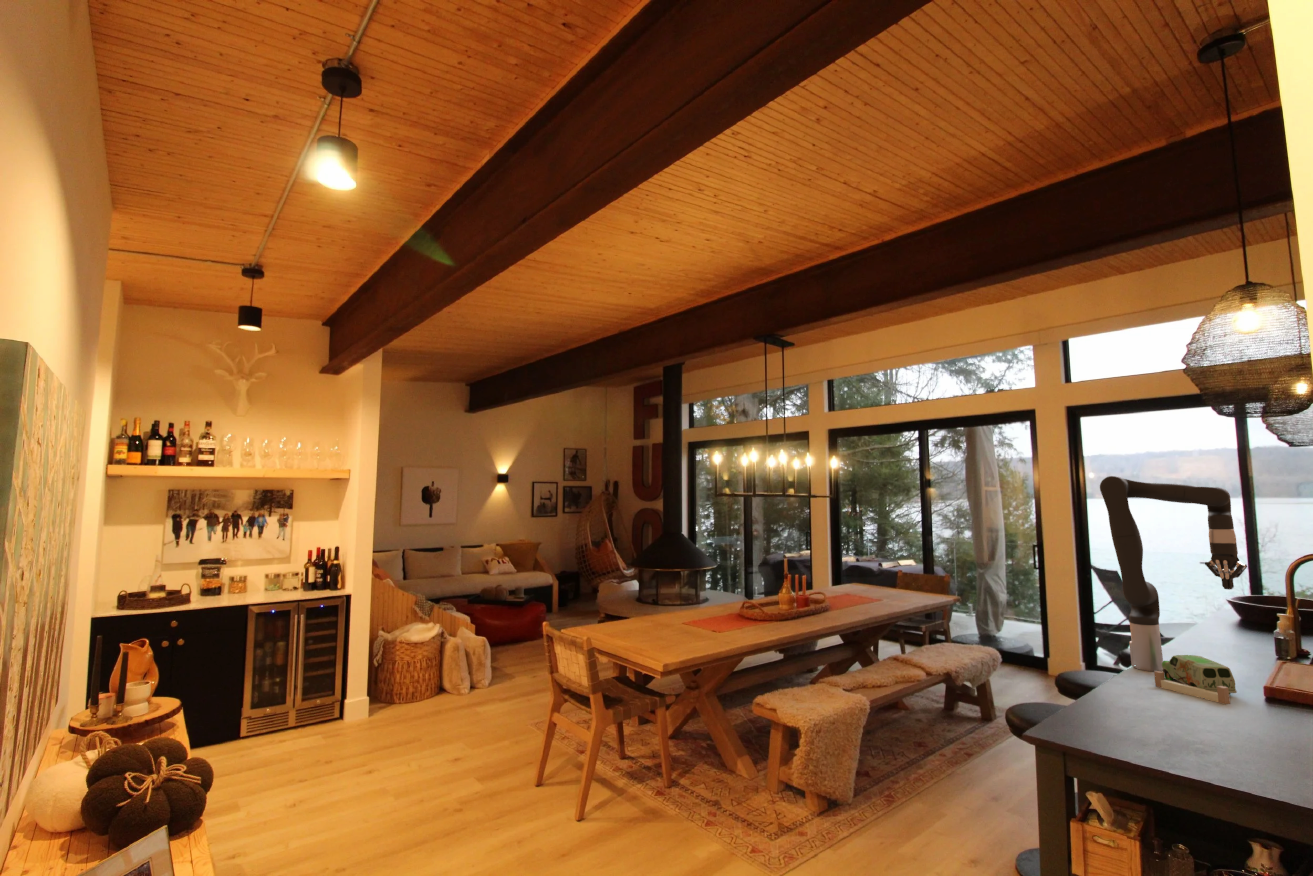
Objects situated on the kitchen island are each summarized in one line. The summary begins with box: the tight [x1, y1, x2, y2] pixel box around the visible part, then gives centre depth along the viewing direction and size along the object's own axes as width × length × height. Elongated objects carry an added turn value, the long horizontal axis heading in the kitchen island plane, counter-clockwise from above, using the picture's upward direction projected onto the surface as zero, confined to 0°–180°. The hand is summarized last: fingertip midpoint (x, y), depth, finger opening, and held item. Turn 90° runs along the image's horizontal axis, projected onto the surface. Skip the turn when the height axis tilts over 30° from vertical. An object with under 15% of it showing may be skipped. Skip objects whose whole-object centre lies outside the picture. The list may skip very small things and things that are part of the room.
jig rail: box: [1153, 671, 1231, 705], centre depth 217 cm, size 22×2×5 cm, turn 16°
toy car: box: [1161, 654, 1238, 694], centre depth 226 cm, size 11×25×10 cm, turn 168°
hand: (1228, 589), depth 235 cm, fingers closed
